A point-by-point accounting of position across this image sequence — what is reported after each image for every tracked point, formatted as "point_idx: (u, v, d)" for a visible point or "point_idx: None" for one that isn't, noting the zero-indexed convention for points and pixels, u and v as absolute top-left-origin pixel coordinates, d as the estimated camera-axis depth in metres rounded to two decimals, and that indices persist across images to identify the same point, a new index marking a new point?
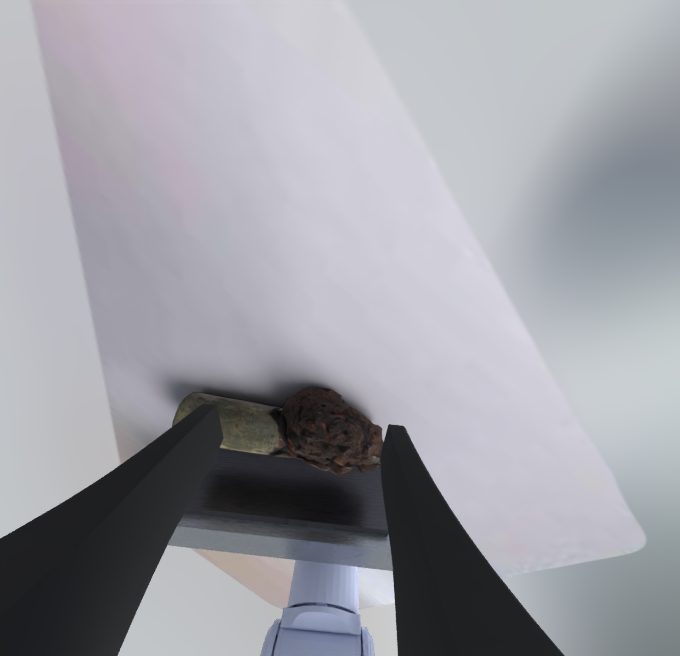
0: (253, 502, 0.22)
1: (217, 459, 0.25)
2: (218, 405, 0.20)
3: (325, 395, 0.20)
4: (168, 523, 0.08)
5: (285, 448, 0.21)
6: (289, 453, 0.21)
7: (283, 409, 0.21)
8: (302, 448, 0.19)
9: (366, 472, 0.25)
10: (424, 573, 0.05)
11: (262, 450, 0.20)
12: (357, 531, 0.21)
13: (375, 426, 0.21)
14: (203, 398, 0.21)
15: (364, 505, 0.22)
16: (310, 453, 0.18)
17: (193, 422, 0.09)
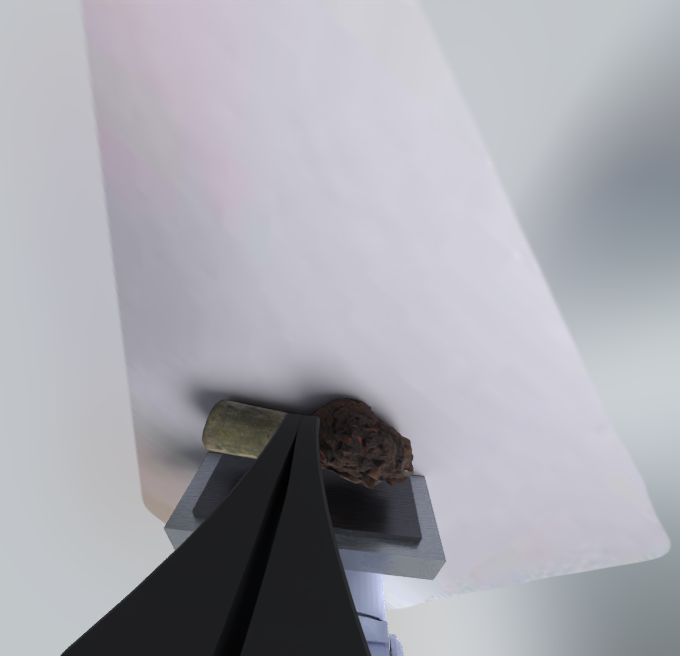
0: None
1: (241, 463, 0.25)
2: (248, 414, 0.20)
3: (357, 407, 0.20)
4: (275, 535, 0.08)
5: None
6: None
7: None
8: (336, 461, 0.18)
9: None
10: None
11: None
12: (389, 538, 0.21)
13: (404, 439, 0.21)
14: (232, 406, 0.21)
15: (394, 511, 0.22)
16: (344, 466, 0.18)
17: (290, 433, 0.09)
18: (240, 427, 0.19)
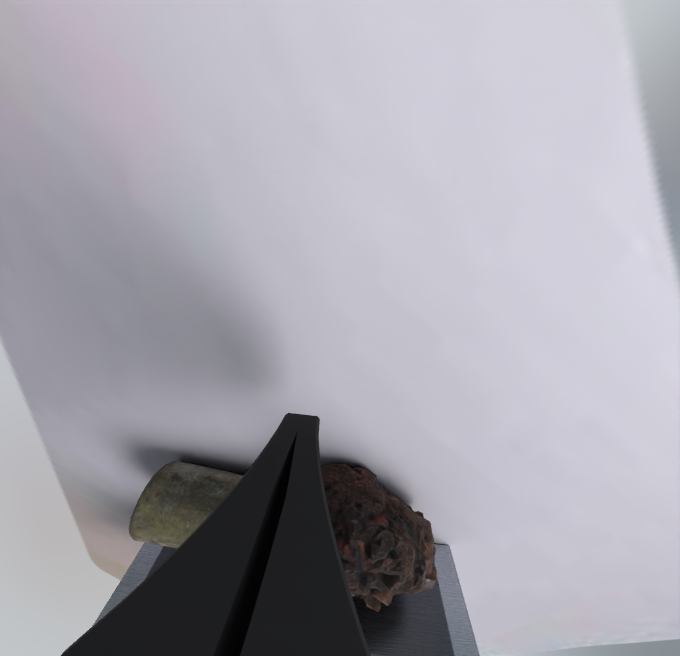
0: None
1: None
2: (201, 490, 0.14)
3: (357, 481, 0.14)
4: None
5: None
6: None
7: None
8: None
9: None
10: None
11: None
12: None
13: (423, 523, 0.15)
14: (180, 477, 0.14)
15: (413, 614, 0.16)
16: None
17: (290, 433, 0.09)
18: (186, 514, 0.13)
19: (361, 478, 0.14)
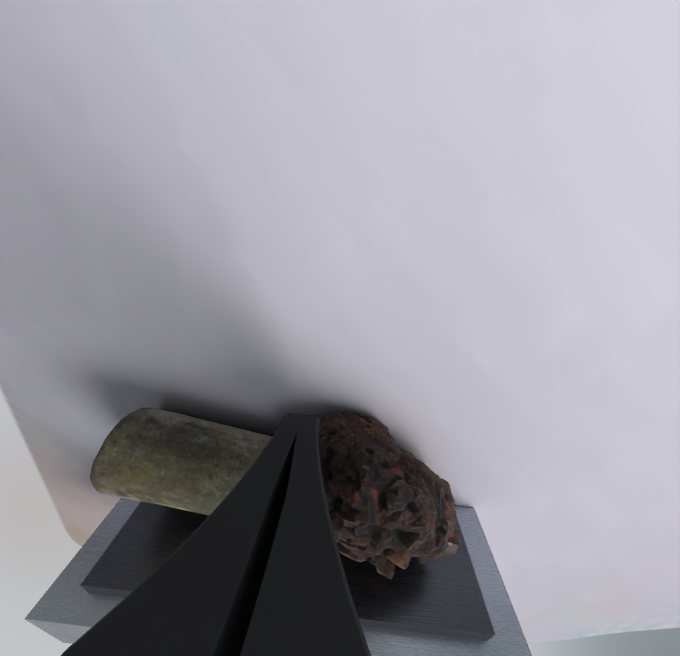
0: None
1: None
2: (181, 435, 0.12)
3: (367, 428, 0.12)
4: None
5: None
6: None
7: None
8: None
9: None
10: None
11: None
12: (434, 633, 0.12)
13: (442, 482, 0.13)
14: (156, 420, 0.12)
15: (438, 578, 0.13)
16: None
17: (290, 433, 0.09)
18: (161, 459, 0.11)
19: (372, 426, 0.12)
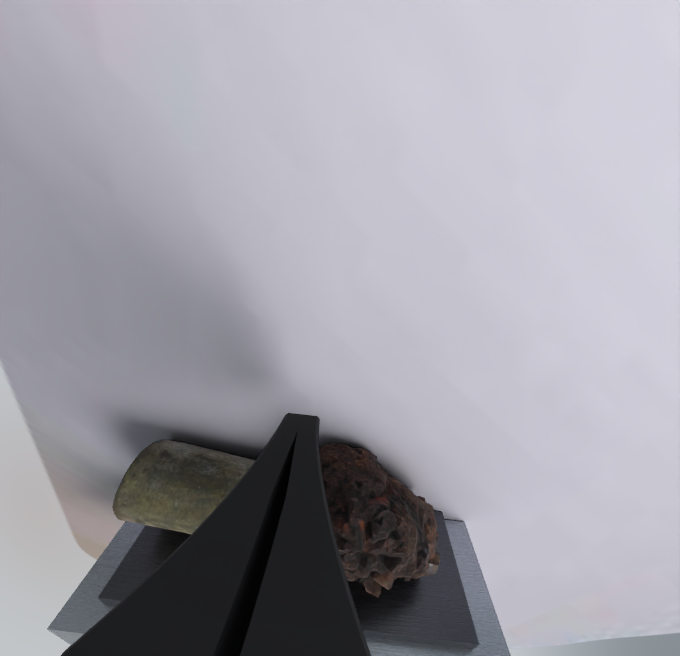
0: None
1: None
2: (192, 468, 0.13)
3: (357, 460, 0.13)
4: None
5: None
6: None
7: None
8: None
9: None
10: None
11: None
12: (423, 642, 0.13)
13: (426, 506, 0.14)
14: (169, 454, 0.14)
15: (428, 590, 0.14)
16: None
17: (290, 433, 0.09)
18: (175, 491, 0.12)
19: (361, 457, 0.14)
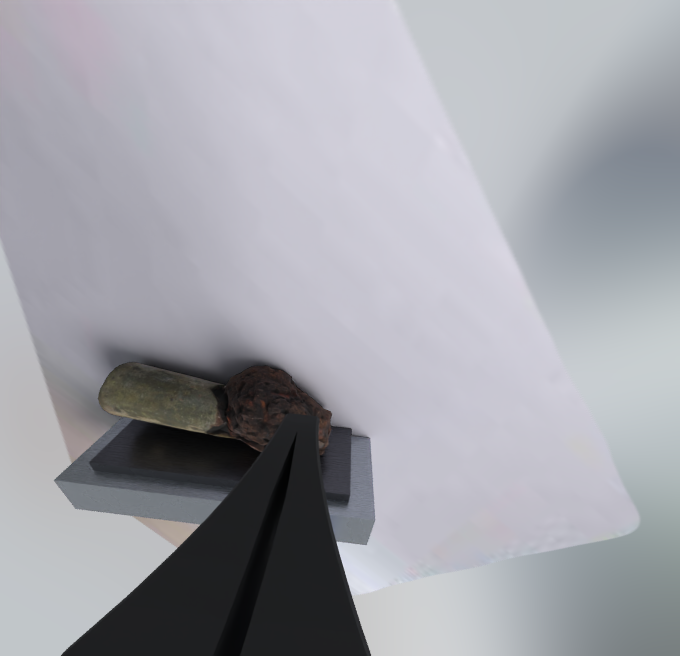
0: (195, 462, 0.19)
1: None
2: (155, 376, 0.19)
3: (272, 373, 0.19)
4: None
5: (225, 428, 0.19)
6: (230, 433, 0.19)
7: (226, 386, 0.19)
8: (239, 427, 0.17)
9: (332, 436, 0.22)
10: None
11: (198, 427, 0.18)
12: None
13: (324, 410, 0.20)
14: (139, 368, 0.19)
15: (324, 468, 0.20)
16: (247, 432, 0.17)
17: (290, 433, 0.09)
18: (141, 389, 0.18)
19: (276, 372, 0.19)
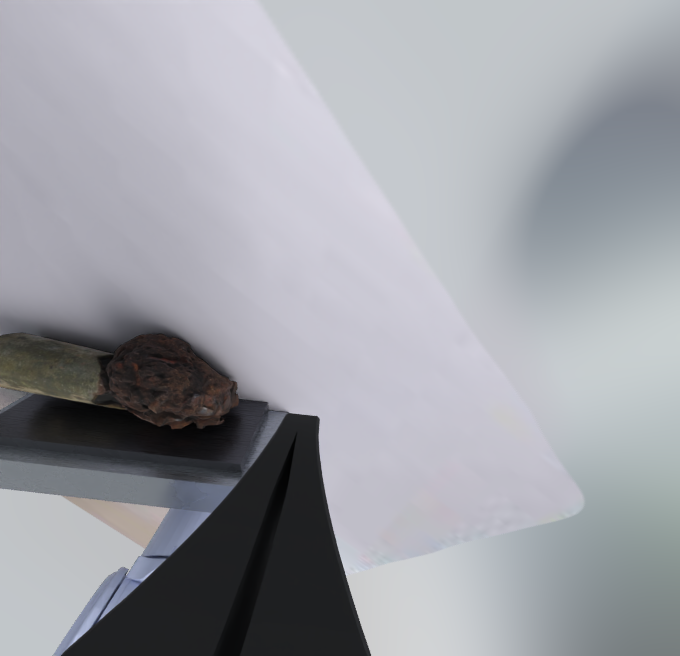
0: (83, 433, 0.18)
1: None
2: (39, 345, 0.18)
3: (162, 340, 0.18)
4: None
5: (115, 398, 0.18)
6: (122, 404, 0.19)
7: (115, 354, 0.18)
8: (116, 393, 0.16)
9: (243, 409, 0.21)
10: None
11: (82, 397, 0.18)
12: (205, 466, 0.17)
13: (222, 379, 0.19)
14: (26, 338, 0.18)
15: (222, 439, 0.19)
16: (123, 398, 0.16)
17: (290, 433, 0.09)
18: (20, 357, 0.17)
19: (167, 339, 0.18)
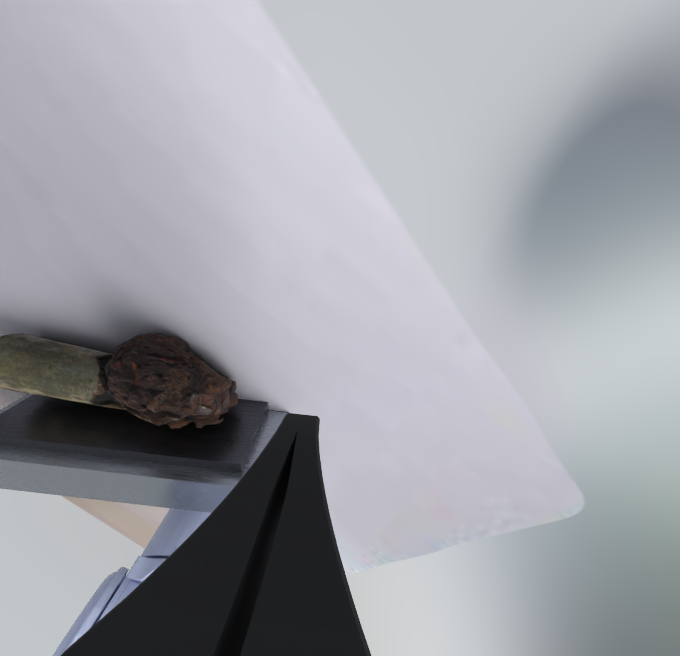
0: (83, 433, 0.18)
1: None
2: (38, 346, 0.18)
3: (160, 339, 0.18)
4: None
5: (114, 398, 0.18)
6: (121, 404, 0.19)
7: (113, 354, 0.18)
8: (115, 392, 0.16)
9: (243, 409, 0.21)
10: None
11: (81, 397, 0.18)
12: (205, 466, 0.17)
13: (221, 378, 0.19)
14: (25, 339, 0.19)
15: (222, 439, 0.19)
16: (122, 398, 0.16)
17: (290, 433, 0.09)
18: (19, 357, 0.17)
19: (165, 338, 0.18)
